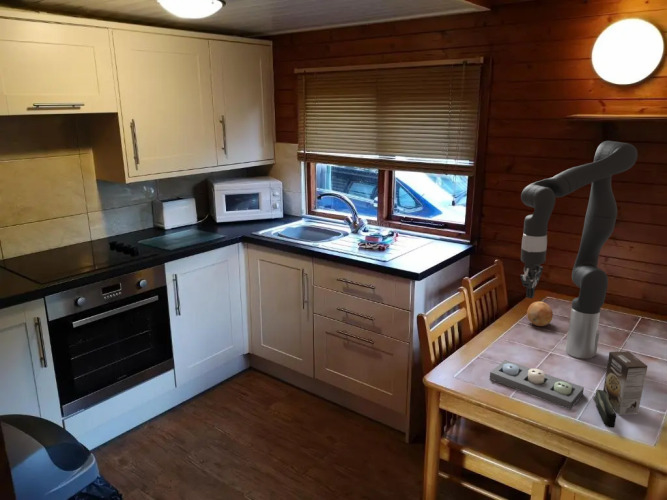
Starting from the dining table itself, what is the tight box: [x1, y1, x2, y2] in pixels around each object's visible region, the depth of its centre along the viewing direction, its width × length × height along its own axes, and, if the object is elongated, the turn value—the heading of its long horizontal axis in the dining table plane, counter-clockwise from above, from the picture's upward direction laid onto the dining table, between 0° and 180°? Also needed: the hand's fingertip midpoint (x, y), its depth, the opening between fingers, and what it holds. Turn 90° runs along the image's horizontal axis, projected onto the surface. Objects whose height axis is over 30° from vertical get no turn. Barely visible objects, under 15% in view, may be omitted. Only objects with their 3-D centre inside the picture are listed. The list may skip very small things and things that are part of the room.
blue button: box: [502, 363, 519, 377], centre depth 173 cm, size 5×5×3 cm
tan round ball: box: [526, 301, 554, 327], centre depth 211 cm, size 10×10×10 cm
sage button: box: [554, 381, 572, 396], centre depth 162 cm, size 5×5×3 cm
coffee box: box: [602, 350, 648, 416], centre depth 155 cm, size 9×6×16 cm
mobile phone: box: [592, 389, 617, 429], centre depth 154 cm, size 5×3×15 cm
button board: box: [489, 359, 585, 410], centre depth 168 cm, size 26×11×2 cm, turn 47°
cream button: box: [527, 368, 546, 386], centre depth 167 cm, size 5×5×3 cm
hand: (529, 297), depth 173 cm, fingers closed
